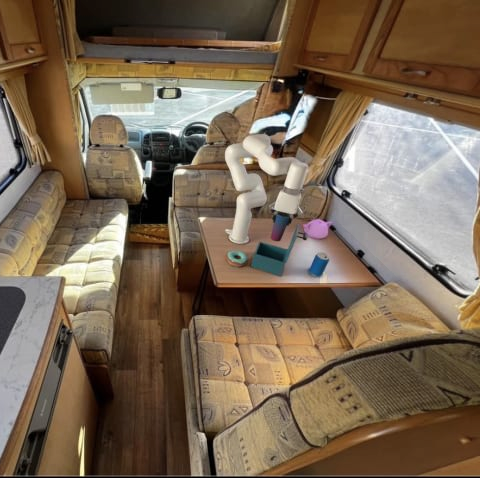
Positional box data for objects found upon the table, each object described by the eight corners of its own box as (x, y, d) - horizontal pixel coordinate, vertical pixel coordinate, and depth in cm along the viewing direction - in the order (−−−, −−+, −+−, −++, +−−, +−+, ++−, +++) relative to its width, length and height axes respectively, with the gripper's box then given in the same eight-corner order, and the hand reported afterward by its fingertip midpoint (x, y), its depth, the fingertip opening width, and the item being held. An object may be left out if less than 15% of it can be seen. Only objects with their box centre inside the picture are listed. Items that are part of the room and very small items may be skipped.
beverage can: (321, 279, 137) (329, 261, 130) (307, 274, 140) (315, 257, 133) (322, 272, 141) (330, 254, 134) (309, 267, 144) (317, 250, 137)
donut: (244, 270, 142) (245, 265, 139) (223, 263, 146) (224, 258, 144) (249, 258, 150) (250, 253, 148) (229, 252, 155) (230, 246, 152)
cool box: (250, 266, 144) (254, 254, 139) (255, 253, 154) (259, 241, 149) (280, 276, 138) (284, 263, 133) (283, 261, 148) (288, 249, 143)
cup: (283, 243, 133) (292, 218, 124) (269, 241, 134) (277, 216, 125) (281, 235, 139) (289, 211, 130) (267, 234, 140) (275, 209, 131)
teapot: (293, 229, 176) (298, 216, 170) (320, 227, 179) (326, 213, 173) (306, 241, 165) (311, 227, 159) (334, 238, 168) (340, 224, 162)
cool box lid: (295, 236, 124) (307, 240, 121) (298, 223, 133) (309, 226, 131) (284, 262, 133) (295, 266, 131) (287, 248, 143) (298, 252, 141)
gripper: (312, 190, 120) (299, 223, 130) (273, 183, 126) (264, 215, 137) (312, 197, 114) (298, 231, 125) (271, 189, 121) (261, 222, 131)
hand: (280, 222), depth 131 cm, fingers closed on cup, 6 cm apart
